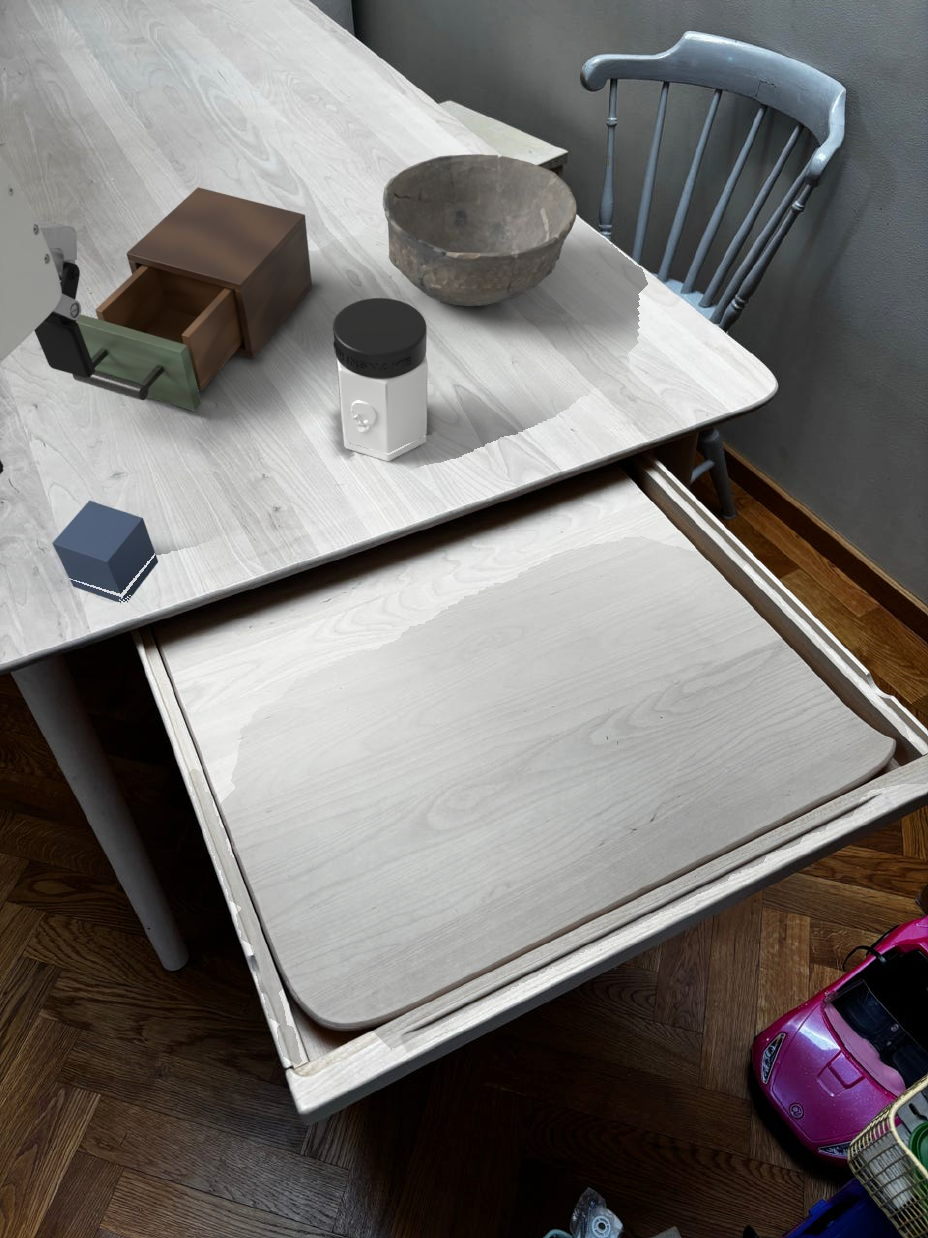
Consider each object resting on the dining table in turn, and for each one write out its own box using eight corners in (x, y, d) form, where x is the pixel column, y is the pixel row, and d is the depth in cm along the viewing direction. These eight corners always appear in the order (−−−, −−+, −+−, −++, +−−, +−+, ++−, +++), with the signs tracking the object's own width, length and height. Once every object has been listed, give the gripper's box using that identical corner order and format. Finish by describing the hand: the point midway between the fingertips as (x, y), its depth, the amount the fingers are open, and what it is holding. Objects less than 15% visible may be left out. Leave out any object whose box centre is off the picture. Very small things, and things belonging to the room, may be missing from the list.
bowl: (523, 221, 111) (532, 138, 103) (595, 320, 100) (611, 236, 92) (360, 248, 106) (356, 163, 98) (416, 355, 95) (416, 269, 87)
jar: (322, 444, 87) (311, 338, 77) (358, 392, 91) (352, 286, 82) (409, 470, 85) (409, 366, 75) (441, 417, 90) (445, 311, 80)
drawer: (171, 439, 85) (154, 381, 79) (66, 406, 87) (43, 347, 81) (257, 337, 94) (248, 278, 89) (161, 309, 96) (146, 250, 91)
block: (125, 605, 74) (107, 562, 70) (72, 586, 75) (51, 542, 71) (158, 561, 77) (143, 517, 73) (107, 544, 78) (89, 500, 74)
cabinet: (253, 358, 94) (240, 284, 87) (146, 327, 96) (125, 252, 89) (312, 287, 101) (305, 214, 94) (212, 260, 104) (197, 186, 97)
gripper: (-47, 57, 49) (58, 324, 63) (-305, 222, 40) (-114, 494, 54) (73, 83, 48) (153, 350, 62) (-164, 261, 38) (-6, 529, 52)
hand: (29, 417), depth 58 cm, fingers open, 9 cm apart
